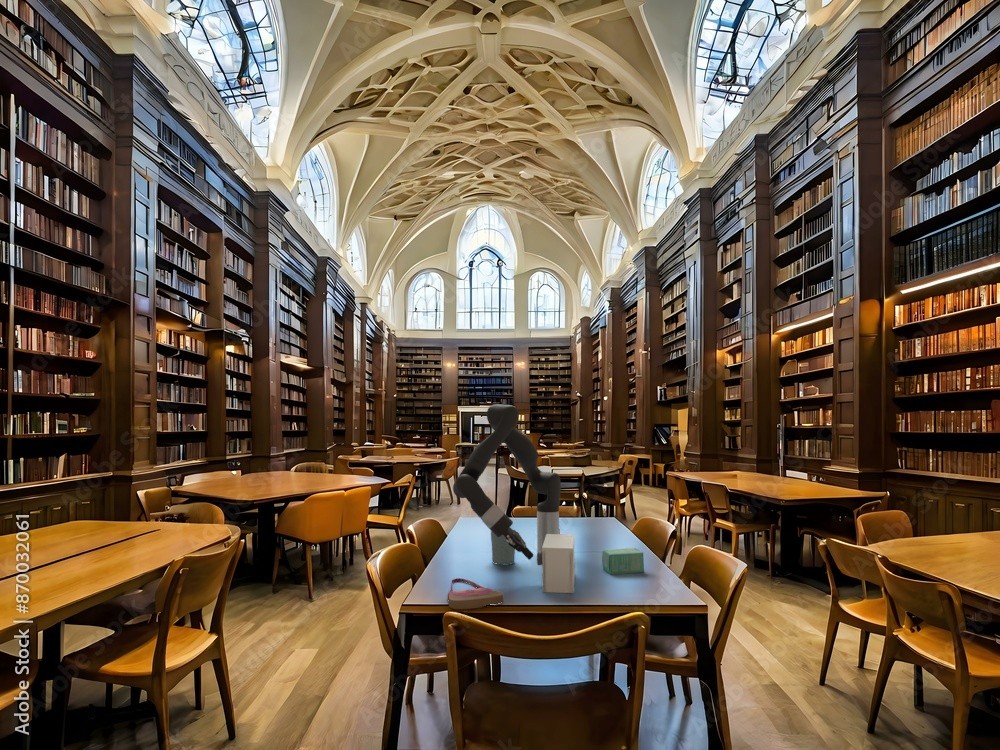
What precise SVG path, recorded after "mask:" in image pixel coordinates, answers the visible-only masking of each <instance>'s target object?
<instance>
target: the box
mask: <svg viewBox="0 0 1000 750" xmlns="http://www.w3.org/2000/svg"><path fill="white" fill-rule="evenodd" d="M601 555H602V556H601V564H602V565H601V566H602V569H603V571H605V572H606V573H608V574H610V575H625V574H637V573H639V574H640V573H645V564H644V552H643V551H641V550H640V549H638V548H636V547H631V548H630V547H629V548H613V549H603V550H602V554H601Z"/></svg>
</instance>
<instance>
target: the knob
mask: <svg viewBox="0 0 1000 750" xmlns="http://www.w3.org/2000/svg"><path fill="white" fill-rule="evenodd" d="M536 552H537V551H536ZM536 564H537V565H536V566H542V551H538V552H537V553H536Z"/></svg>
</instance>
